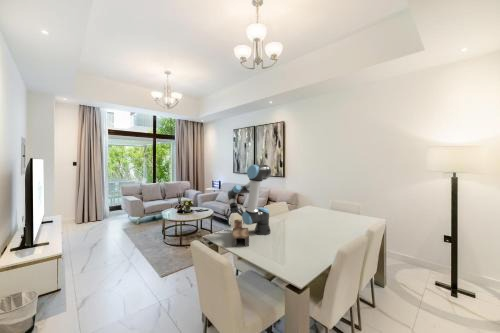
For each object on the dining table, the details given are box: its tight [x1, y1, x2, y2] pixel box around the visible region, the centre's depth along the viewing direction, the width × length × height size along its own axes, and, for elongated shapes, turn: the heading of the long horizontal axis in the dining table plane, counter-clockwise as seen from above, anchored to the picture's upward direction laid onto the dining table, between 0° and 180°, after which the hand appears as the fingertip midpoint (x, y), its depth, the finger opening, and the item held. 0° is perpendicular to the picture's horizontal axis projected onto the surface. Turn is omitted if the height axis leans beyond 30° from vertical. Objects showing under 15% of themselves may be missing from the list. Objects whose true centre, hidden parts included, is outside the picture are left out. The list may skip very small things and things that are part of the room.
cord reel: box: [233, 219, 243, 228], centre depth 200 cm, size 7×7×12 cm
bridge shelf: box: [232, 227, 250, 247], centre depth 182 cm, size 13×20×8 cm, turn 3°
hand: (237, 223), depth 202 cm, fingers open, 13 cm apart
